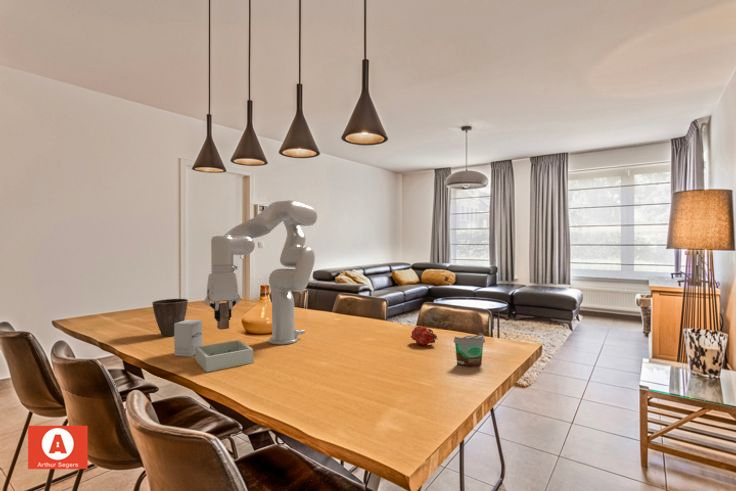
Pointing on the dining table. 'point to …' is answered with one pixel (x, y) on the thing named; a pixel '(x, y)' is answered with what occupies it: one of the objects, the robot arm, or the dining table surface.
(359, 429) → the dining table surface
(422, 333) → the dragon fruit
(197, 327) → the supplement box
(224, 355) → the pale green tray
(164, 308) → the plant pot
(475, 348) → the food container
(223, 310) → the walnut timber post
